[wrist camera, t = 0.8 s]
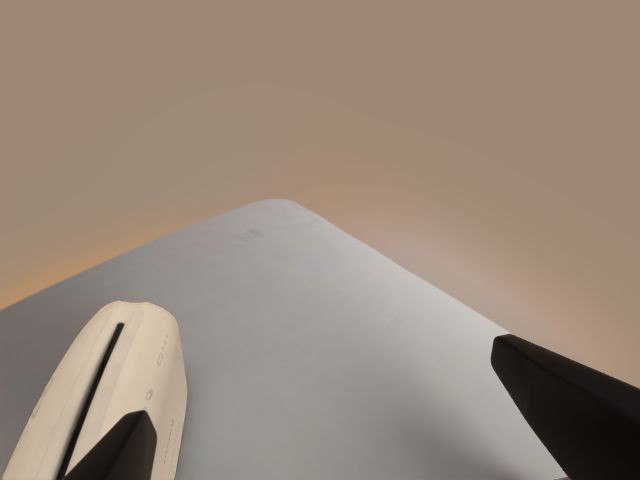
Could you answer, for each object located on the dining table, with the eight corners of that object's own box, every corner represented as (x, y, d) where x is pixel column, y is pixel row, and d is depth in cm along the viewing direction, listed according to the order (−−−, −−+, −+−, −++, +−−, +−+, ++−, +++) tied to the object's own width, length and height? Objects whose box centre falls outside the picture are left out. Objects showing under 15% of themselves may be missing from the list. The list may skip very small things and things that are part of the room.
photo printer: (158, 591, 15) (95, 633, 7) (58, 609, 14) (-155, 683, 6) (194, 381, 23) (185, 280, 14) (130, 383, 21) (79, 274, 13)
